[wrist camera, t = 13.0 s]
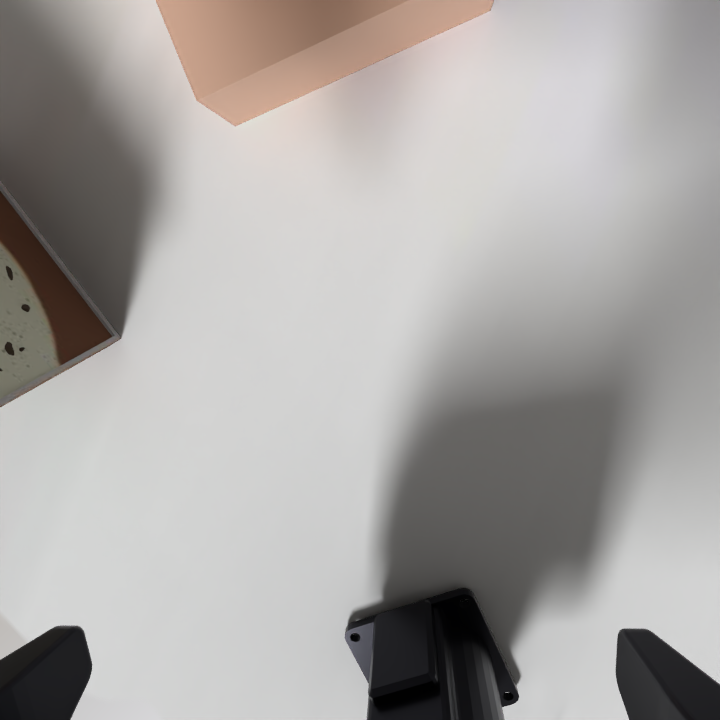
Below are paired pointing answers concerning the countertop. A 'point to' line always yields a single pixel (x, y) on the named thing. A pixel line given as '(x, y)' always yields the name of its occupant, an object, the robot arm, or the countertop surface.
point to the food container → (40, 308)
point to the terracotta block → (294, 44)
